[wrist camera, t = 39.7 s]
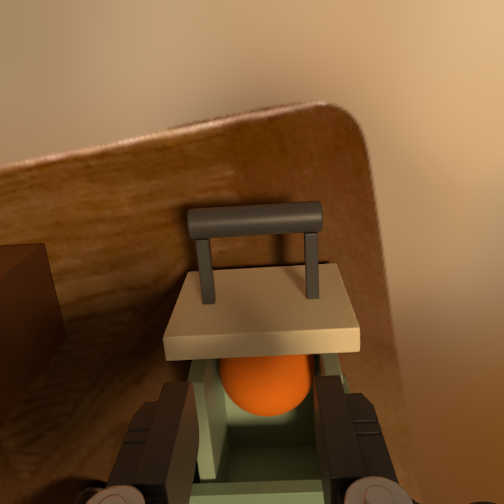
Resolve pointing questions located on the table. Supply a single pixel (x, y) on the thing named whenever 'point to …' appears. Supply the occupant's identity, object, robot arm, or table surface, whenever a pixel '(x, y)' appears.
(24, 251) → the stand
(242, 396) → the ball
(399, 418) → the table surface
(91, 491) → the light bulb
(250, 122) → the table surface
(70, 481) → the table surface
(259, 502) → the cabinet
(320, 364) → the drawer
